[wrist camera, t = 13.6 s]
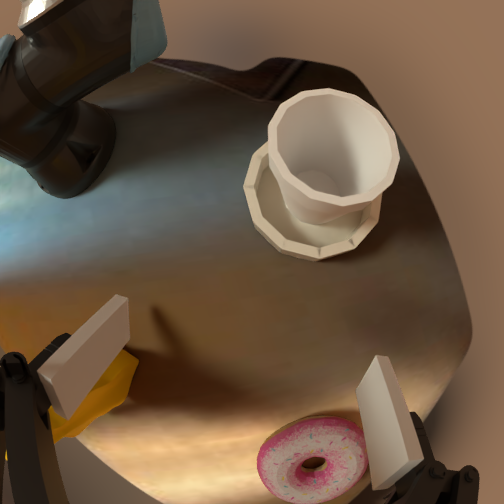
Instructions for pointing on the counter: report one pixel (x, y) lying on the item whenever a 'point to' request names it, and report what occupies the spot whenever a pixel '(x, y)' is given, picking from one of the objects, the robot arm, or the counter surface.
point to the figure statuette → (97, 398)
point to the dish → (290, 228)
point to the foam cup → (330, 154)
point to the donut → (305, 447)
